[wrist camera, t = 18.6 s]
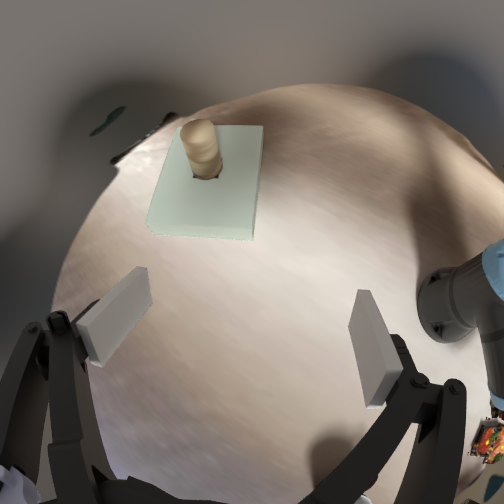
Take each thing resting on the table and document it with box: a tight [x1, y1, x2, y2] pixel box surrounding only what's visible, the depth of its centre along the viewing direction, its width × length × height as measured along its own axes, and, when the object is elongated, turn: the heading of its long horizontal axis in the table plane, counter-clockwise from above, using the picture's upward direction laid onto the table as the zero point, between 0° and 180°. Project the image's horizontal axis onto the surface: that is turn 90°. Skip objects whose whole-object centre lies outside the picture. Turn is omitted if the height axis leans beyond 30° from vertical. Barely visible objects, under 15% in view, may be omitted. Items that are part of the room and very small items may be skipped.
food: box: [467, 401, 504, 464], centre depth 29 cm, size 22×19×4 cm
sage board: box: [145, 125, 263, 241], centre depth 54 cm, size 20×26×5 cm
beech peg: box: [180, 119, 223, 180], centre depth 49 cm, size 6×6×15 cm
